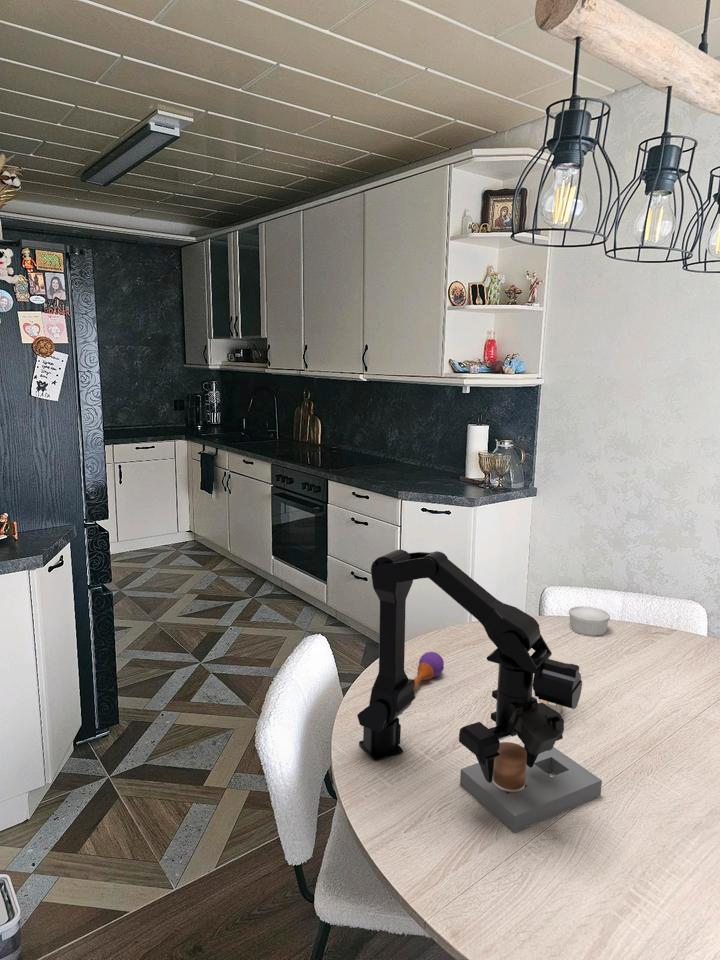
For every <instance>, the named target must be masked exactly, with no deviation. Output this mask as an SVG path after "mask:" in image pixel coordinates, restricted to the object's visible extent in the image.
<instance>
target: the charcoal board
mask: <svg viewBox="0 0 720 960" xmlns="http://www.w3.org/2000/svg"><path fill="white" fill-rule="evenodd" d="M522 747H523V748H524V746H522ZM493 769H494V768H493ZM549 773H551V774H553V775H552V776H551V775H550V774H549ZM459 777H460V779H459V785H460V786H461V787H463V788H464V789H465V790H466V791H467V792H468V793H469V794H470V795H471V796H472V797H473V798H475V799H476V800H477V801H478V802H479V803H480V804H481V805H482V806H483V807H485V809H487V811H489V812H490V813H491V814H492V815H493V816H494V817H496V818H497V819H498V820H499V821H500V822H501V823H502V824H503V825H504V826H505V827H506V828H508V829H509V830H510V831H511V832H512V833H513V834H514V833H517V832H520V831H521V830H524V829H527V828H528V827H530V826H534V825H536V824H538V823H540V822H543V821H545V820H547V819H550V818H552V817H554V816H557V815H558V814H561V813H563V812H566V811H568V810H571V809H573V808H574V807H577V806H580V805H582V804H585V803H587V802H589V801H592V800H594V799H596V798H598V796H599V797H601V795H602V794H601V793H602V785H603V783H602V782H603V780H602V779H601V778H600V777H598V776H596V775H595V774H593V772H590V771H589V770H588V769H586V768H585V767H583V766H582V765H581V764H579V763H578V762H577V761H575V760H573V758H571V757H569V756H567V754H565V753H564V752H562V751H561V750H559V749H557V748H556V747H555V746H553V748H552V750H549V751H548V750H547V751H545V752H542V753H540V754H538V756H537V758H536V760H535V763H534V765H533V767H531V768H530V767H529V766H527V764H526V776H525V788H524V789H523V790H522V791H520V792H516V793H509V794H507V793H506V792H505V791H502V790H500V789H498V788H497V787H496V786H495V785H494V784H493V777H492V782H491V783H489V782H487V781H486V779H485V777H484V774H483V772H482V770H481V767H480V765H479V762H478V763H474V764H471V765H468V766H465V767H463V768H460V775H459ZM591 799H592V800H591Z"/></svg>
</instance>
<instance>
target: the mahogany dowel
mask: <svg viewBox="0 0 720 960" xmlns="http://www.w3.org/2000/svg"><path fill="white" fill-rule="evenodd" d="M523 747H524V746H522V745H520V744H518V743H515V742H511V741H510V742H509V741H505V742H504V741H503V742H500V748H499V750H498V751H497V752H498V753H499V754H500V755H499V756H497V757H496V758H494V769H493V784H494V785H495V786H496V787H497V788H498V789H500V790H502V791H505V792H506V793H507V794H509V793H516V792H520V791H522V790H523V789H524V788H525V776H526V761H527V751H526V750H525V748H523Z"/></svg>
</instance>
